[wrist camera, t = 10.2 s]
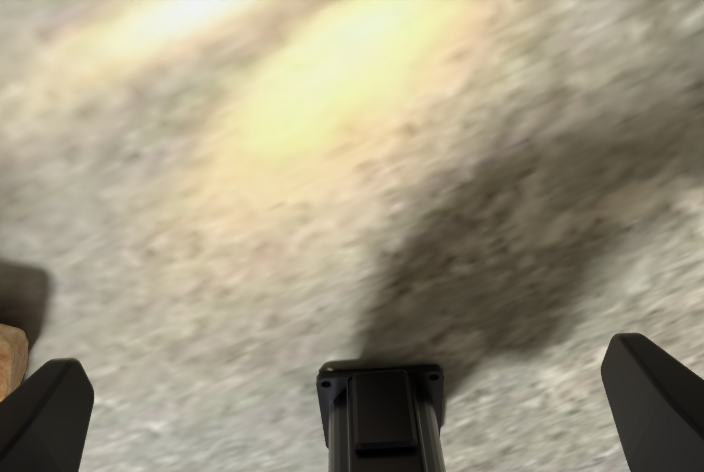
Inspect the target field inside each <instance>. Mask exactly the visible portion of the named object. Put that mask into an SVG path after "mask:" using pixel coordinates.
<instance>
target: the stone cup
mask: <svg viewBox="0 0 704 472" xmlns="http://www.w3.org/2000/svg"><path fill="white" fill-rule="evenodd" d="M28 344H29V342H28V340H27V338H26V335H25V332H24V331H23V330H21V329H19V328H16V327H12V326H8V325H4V324H0V402H1V401H2V400H3V399H4V398H6V397H7V396H8V395H9V394H10V393H11V392H13V391H14V390H15V389H16V388H17V387H18V386H20V382H21V381H22V379H23V375H24V373H25V371H26V368H27V362H28Z"/></svg>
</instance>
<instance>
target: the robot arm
mask: <svg viewBox="0 0 704 472" xmlns="http://www.w3.org/2000/svg"><path fill="white" fill-rule="evenodd" d="M601 376H602V381H603V384H604V387H605V391H606V394H607V397H608V401H609V404H610V407H611V411H612V414H613V417H614V421H615V424H616V427H617V431H618V434H619V437H620V441H621V444H622V447H623V451H624V454H625V457H626V460H627V463H628V466H629V468H630V471H631V472H704V380H703V379H702V378H700V377H699V376H698V375H696V374H695V373H694V372H692V371H691V370H690V369H688V368H687V367H686V366H684V365H683V364H682V363H680V362H679V361H678V360H676V359H675V358H674V357H672V356H671V355H670V354H668V353H667V352H666V351H664V350H663V349H662V348H660V347H659V346H658V345H656V344H655V343H653V342H652V341H651V340H649V339H648V338H647V337H645V336H644V335H642V334H640V333H619V334H615V335H614V336H613V337H612V339H611V341H610V344H609V346H608V349H607V352H606V354H605V357H604V360H603V362H602V366H601ZM443 382H444V375H443V371H442V368H441V367H440V366H438V365H423V366H407V367H392V368H376V369H361V370H345V371H330V372H322V373H320V374H318V376H317V381H316V386H317V392H318V398H319V405H320V411H321V417H322V424H323V430H324V436H325V442H326V447H327V448H328V449H329V472H446V470H445V465H444V459H443V453H442V448H441V442H440V427H441V412H442V397H443ZM93 403H94V390H93V387H92V384H91V383H90V381H89V379H88V377H87V375H86V373H85V371H84V369H83V367H82V365H81V363H80V361H79V360H77V359H76V358H58V359H52V360H50V361H48V362H46V363H45V364H44V365H43V366H42V367H40V368H39V369H38V370H37V371H36V372H35V373H33V374H32V375H31V376H30V377H29V378H28V379H26V380H25V381H24V382H23V383H22V384H21V385H20V386H18V387H17V388H16V389H15V390H14V391H13V392H11V393H10V394H9V395H8V396H7V397H6V398H4V399H3V400H2V401H1V402H0V472H78V471H79V467H80V462H81V458H82V453H83V449H84V444H85V440H86V435H87V431H88V426H89V421H90V417H91V412H92V408H93Z"/></svg>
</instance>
